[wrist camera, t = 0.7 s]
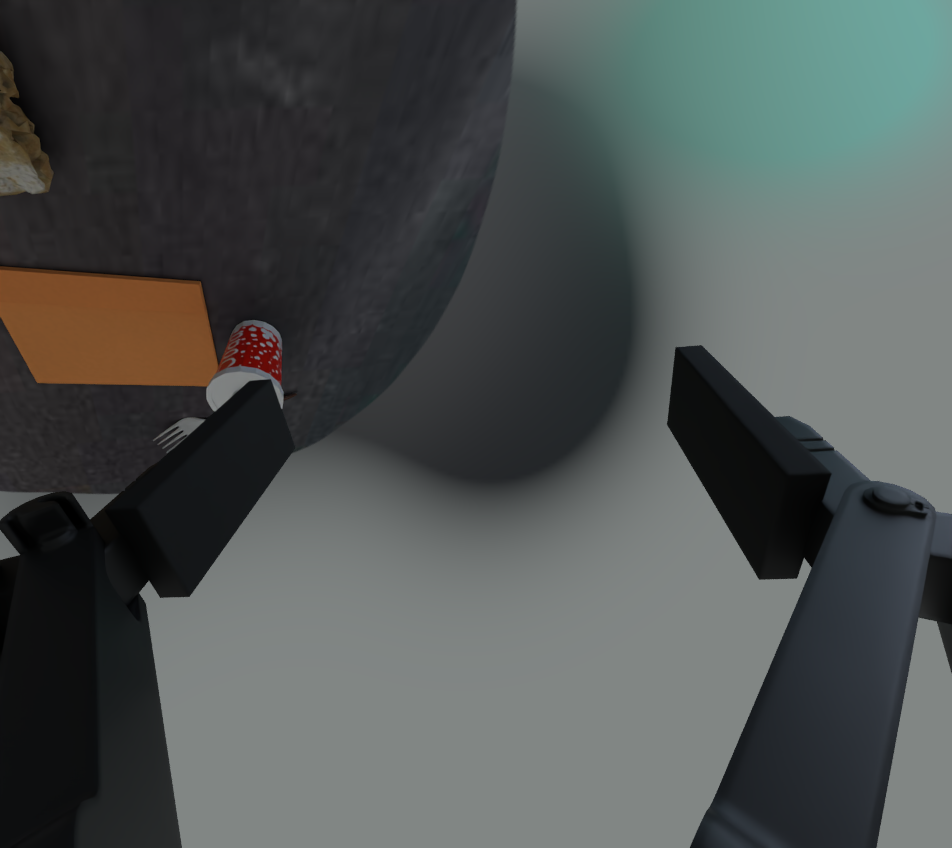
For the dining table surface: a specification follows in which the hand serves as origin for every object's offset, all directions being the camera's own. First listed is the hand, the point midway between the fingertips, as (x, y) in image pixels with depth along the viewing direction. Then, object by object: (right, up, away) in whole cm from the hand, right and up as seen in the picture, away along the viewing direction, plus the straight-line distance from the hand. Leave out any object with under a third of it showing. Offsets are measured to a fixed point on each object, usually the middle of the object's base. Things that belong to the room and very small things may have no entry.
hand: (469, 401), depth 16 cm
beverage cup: (-22, +8, +32) cm, 39 cm away
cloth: (-33, +8, +28) cm, 44 cm away
